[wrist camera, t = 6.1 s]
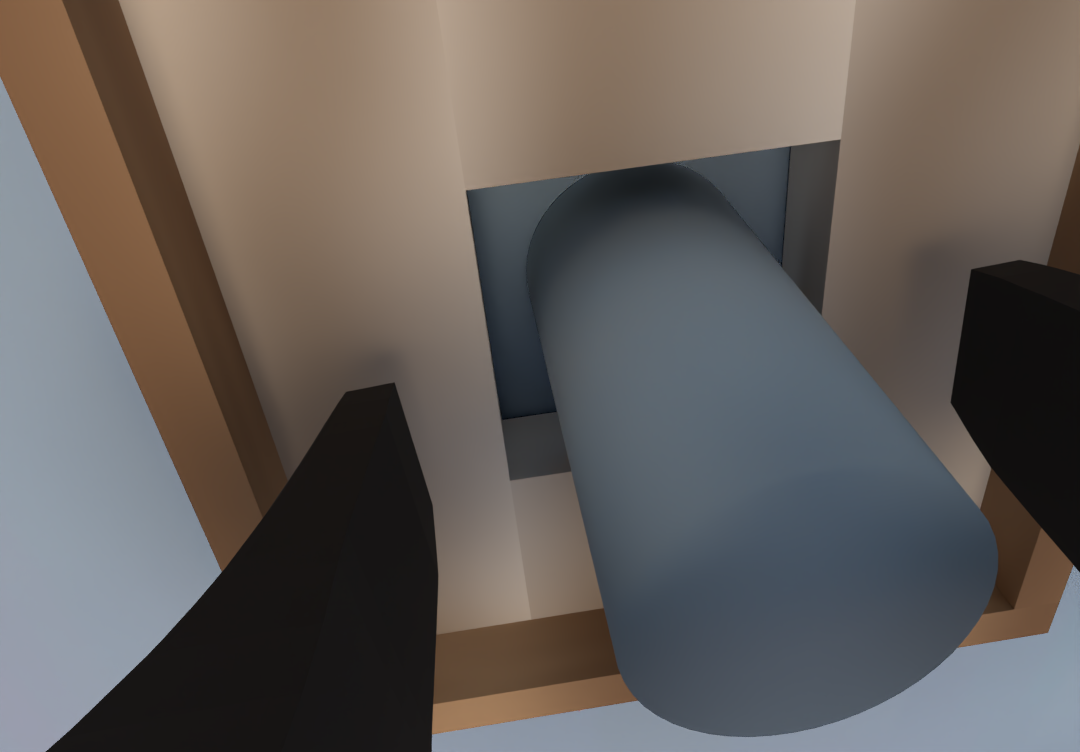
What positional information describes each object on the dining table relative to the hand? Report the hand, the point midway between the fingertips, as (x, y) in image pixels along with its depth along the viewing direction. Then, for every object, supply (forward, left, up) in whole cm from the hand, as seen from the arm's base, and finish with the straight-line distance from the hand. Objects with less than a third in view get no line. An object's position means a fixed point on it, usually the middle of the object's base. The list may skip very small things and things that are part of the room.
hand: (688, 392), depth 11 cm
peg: (0, 0, -3) cm, 3 cm away
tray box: (0, 0, -3) cm, 3 cm away
